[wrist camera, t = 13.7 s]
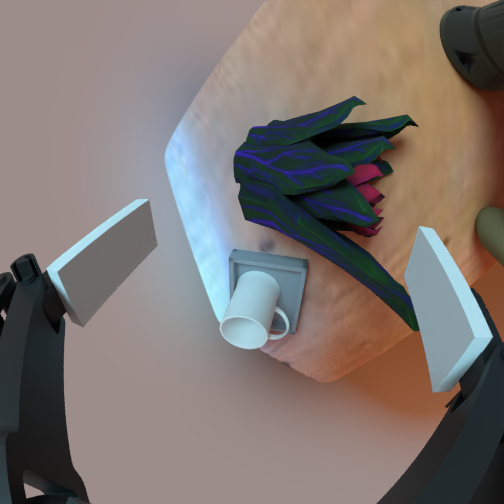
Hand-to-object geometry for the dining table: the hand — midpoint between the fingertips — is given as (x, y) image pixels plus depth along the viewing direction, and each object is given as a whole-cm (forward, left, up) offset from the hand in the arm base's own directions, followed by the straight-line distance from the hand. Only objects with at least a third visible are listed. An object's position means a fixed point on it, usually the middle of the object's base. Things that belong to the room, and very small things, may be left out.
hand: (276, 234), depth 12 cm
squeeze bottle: (-36, +7, -31) cm, 48 cm away
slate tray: (+4, +29, -31) cm, 42 cm away
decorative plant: (-7, +4, -31) cm, 32 cm away
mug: (+4, +29, -30) cm, 42 cm away
